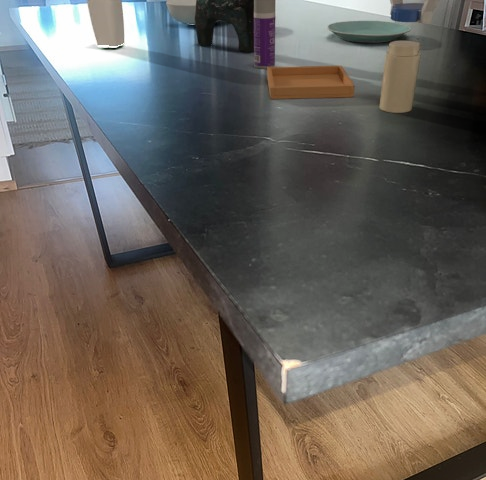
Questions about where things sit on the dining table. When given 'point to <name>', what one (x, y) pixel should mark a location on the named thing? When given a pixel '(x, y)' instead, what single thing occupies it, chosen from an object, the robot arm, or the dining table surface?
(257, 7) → the container
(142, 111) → the dining table surface
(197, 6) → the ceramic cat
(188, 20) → the serving bowl
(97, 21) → the cup
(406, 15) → the lid
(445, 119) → the dining table surface
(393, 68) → the jar
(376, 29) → the plate
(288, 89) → the tray
